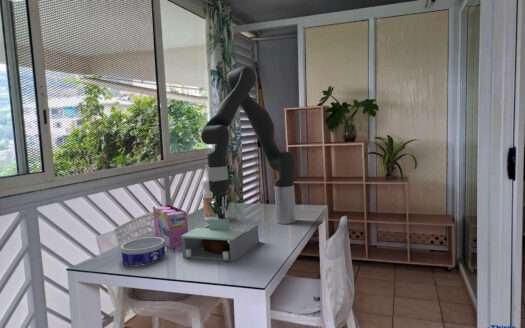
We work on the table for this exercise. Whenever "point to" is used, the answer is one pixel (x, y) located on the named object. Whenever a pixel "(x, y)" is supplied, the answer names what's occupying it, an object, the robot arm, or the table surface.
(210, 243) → the brick
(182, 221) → the gum box
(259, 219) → the table surface
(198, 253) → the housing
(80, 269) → the table surface
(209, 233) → the cover
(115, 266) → the table surface
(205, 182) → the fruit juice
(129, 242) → the dog bowl
